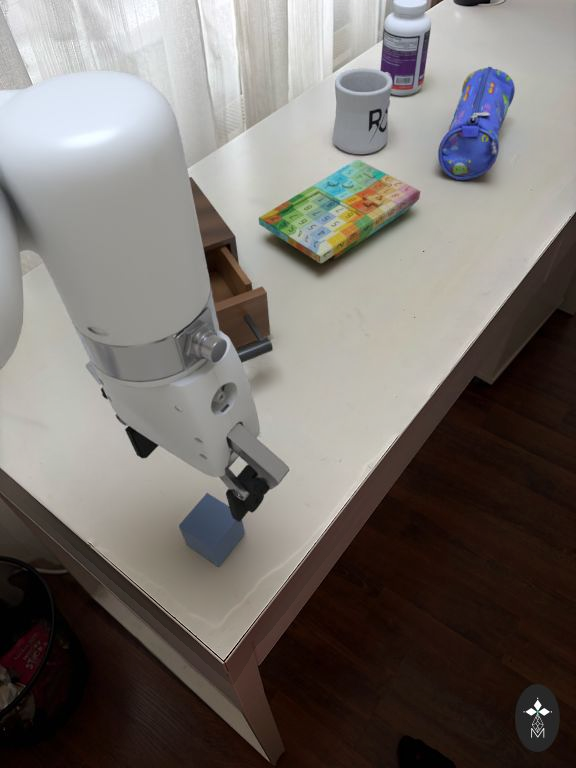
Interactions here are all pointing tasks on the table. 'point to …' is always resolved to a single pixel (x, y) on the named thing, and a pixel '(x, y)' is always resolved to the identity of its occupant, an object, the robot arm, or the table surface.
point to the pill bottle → (406, 45)
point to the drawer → (238, 304)
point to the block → (211, 529)
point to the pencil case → (476, 124)
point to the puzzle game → (340, 211)
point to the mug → (362, 110)
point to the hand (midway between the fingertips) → (199, 473)
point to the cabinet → (212, 224)
